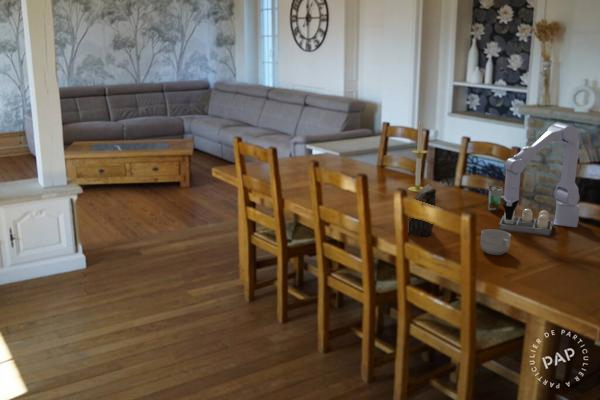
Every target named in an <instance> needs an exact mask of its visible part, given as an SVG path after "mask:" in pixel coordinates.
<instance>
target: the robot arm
mask: <svg viewBox="0 0 600 400" xmlns="http://www.w3.org/2000/svg"><path fill="white" fill-rule="evenodd" d="M580 140H581V139H580V138H579V130H578V129H577V128H576V127H575V126H574V125H571V124H570V125H569V124H566V123H562V122H559V121H557V122H555V123H553V124H551V126H549V127H548V128H547V131H545V132H544V133H543V134H542V135H541V136H540V137H539V138H538V139H537V140H536V141H535V142H534V143H533V144H532V145H531V146H530V145H527V146H523V147H522V149H521V150H520V151H519V152H518V153H516V154H515V155H513V157H510V158H507V160H505V163H504V164H503V168H504V170H505V181H504V182H505V183H504V191H503V192H504V194H503V195H502V196H501V199H503V200H504V202H502V206H503V209H504V215H506V220H512V217H513V213H514V210H515V211H516V208H517V206H518V204H519V200H520V197H519V196H520V195H519V194H520V183H521V174H522V173H523V172H524V169H525V167H526V166H527V164H529V163H530V162H531V161H533V160H534V159H535V158H536V157H537V155H538V154H537V153H538V152H539V151H541V150H542V149H544V148H545V147H546V146H548V145H549V144H550V143H552V142H561V143H563V144H564V150H563V151H564V153H563V160H562V161H563V162H562V169H561V175H560V176H561V179H560V181H559V182H558V183H557V184H556V188H555V190H554V192H553V197H554V199H555V202H556V207H555V216H554V217H555V218H554V219H553V223H552V226H553V225H554V226H561V227H569V228H570V227H571V228H578V223H579V222H580V218H579V214H580V205H579V204H578V203H579V201H580V193H579V186H578V185H577V184H576V175H577V168H578V159H579V151H580V144H581V143H580V142H581V141H580Z"/></svg>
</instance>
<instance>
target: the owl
mask: <svg viewBox="0 0 600 400" xmlns="http://www.w3.org/2000/svg"><path fill="white" fill-rule="evenodd" d="M422 187H423V186H422ZM436 193H437V189H436V188H435V187H433V186H432V184H431V183H428V184H426V185H425V186H424V187H423V188H422V189H421V190H420V191H419V192H416V195H415V196H414V199H416V200H419V201H422V202H425V203H428V204H431V205H434V206H435V207H436V201H435V200H436ZM414 199H413V200H414ZM408 221H409V233H408V234H409V235H411V236H415V237H419V238H421V239H422V238H423V239H427V238H430V237H432V236H433V235H432V234H433V233H432V232H433V227H434V223H433V224H430V223H428V222H425V221H422V220H418V219H414V218H411V217H409V219H408Z"/></svg>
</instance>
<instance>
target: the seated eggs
mask: <svg viewBox="0 0 600 400" xmlns="http://www.w3.org/2000/svg"><path fill="white" fill-rule="evenodd" d="M521 217H522V222H528V223H532V218H533V211H532V210H531V208H525V209H523V211H522V216H521ZM537 219H538V222H537V228H540V229H547V226H548V221H549V220H550V214H549V212H548V211H547V210H545V209H544V210H541V211H540V212H539V213H538V217H537Z"/></svg>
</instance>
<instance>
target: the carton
mask: <svg viewBox="0 0 600 400" xmlns="http://www.w3.org/2000/svg"><path fill="white" fill-rule="evenodd" d="M504 215H505V214H504ZM504 215H502V217H501V219H500V221H499V225H498V230H501V231H505V232H514V233H523V234H530V235H539V236H548V237H551V234H552V229H553V223H554V220H550V219H549V221H548V226H547V229H540V228H537V222H538V218H533V217H532V223H528V222H522V216H514V223H513V224H506V223H504Z"/></svg>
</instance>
